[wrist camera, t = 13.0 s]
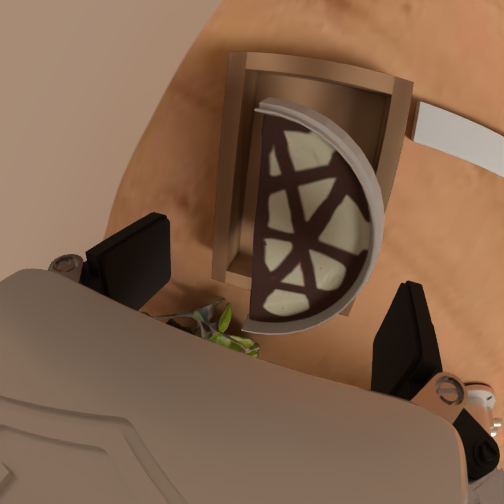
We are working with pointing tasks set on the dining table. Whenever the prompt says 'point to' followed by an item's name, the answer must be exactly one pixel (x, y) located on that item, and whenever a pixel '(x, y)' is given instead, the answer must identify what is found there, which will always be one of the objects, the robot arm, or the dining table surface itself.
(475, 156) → the plank
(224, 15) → the dining table surface
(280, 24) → the dining table surface
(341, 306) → the food container
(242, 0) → the dining table surface
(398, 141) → the wooden tray
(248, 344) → the passion flower
